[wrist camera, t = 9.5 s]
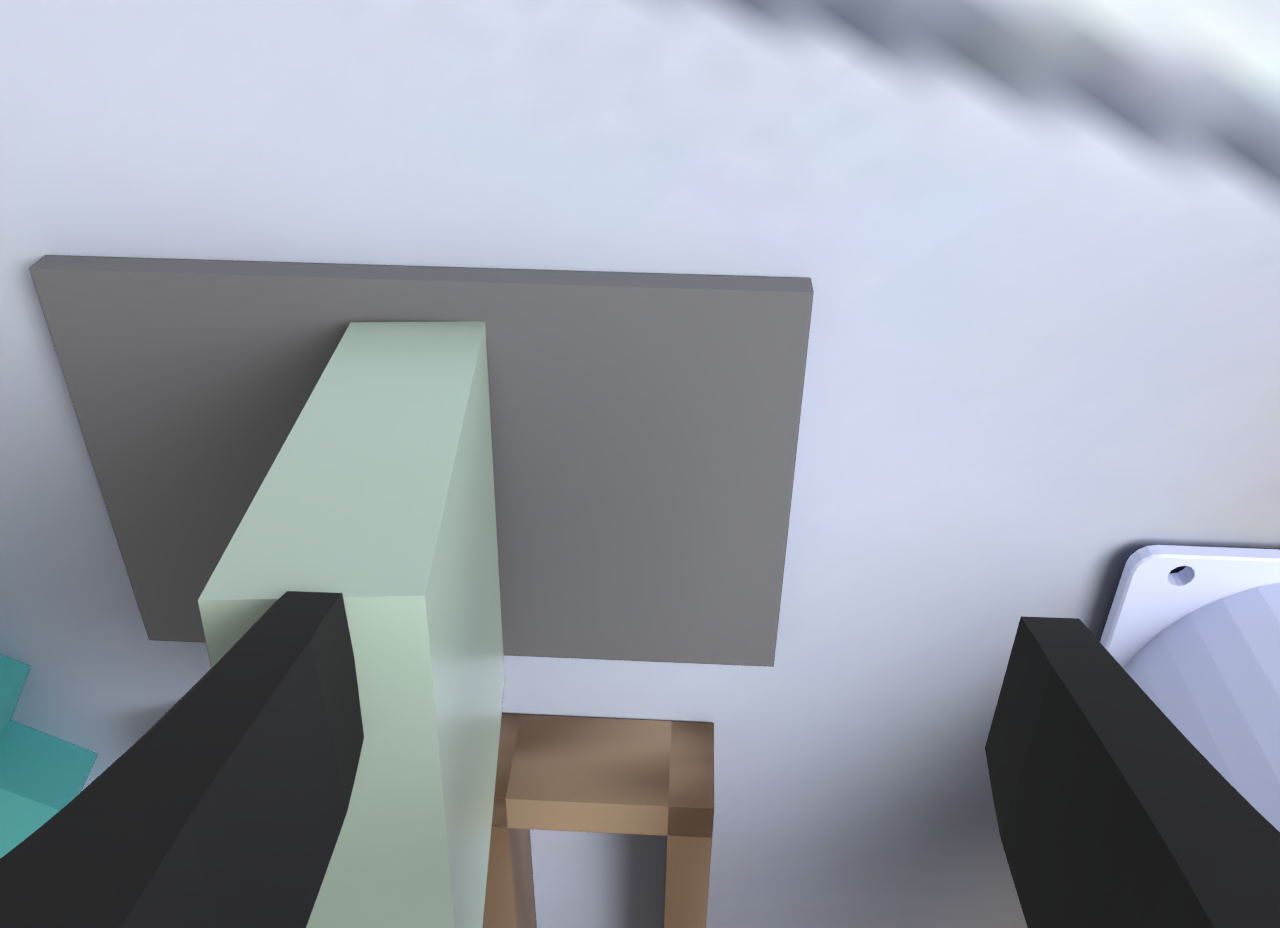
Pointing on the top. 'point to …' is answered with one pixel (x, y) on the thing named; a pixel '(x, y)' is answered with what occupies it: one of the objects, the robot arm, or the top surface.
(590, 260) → the top surface
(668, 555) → the gray mat
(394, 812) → the pale green block
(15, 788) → the alien figure
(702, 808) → the rack
